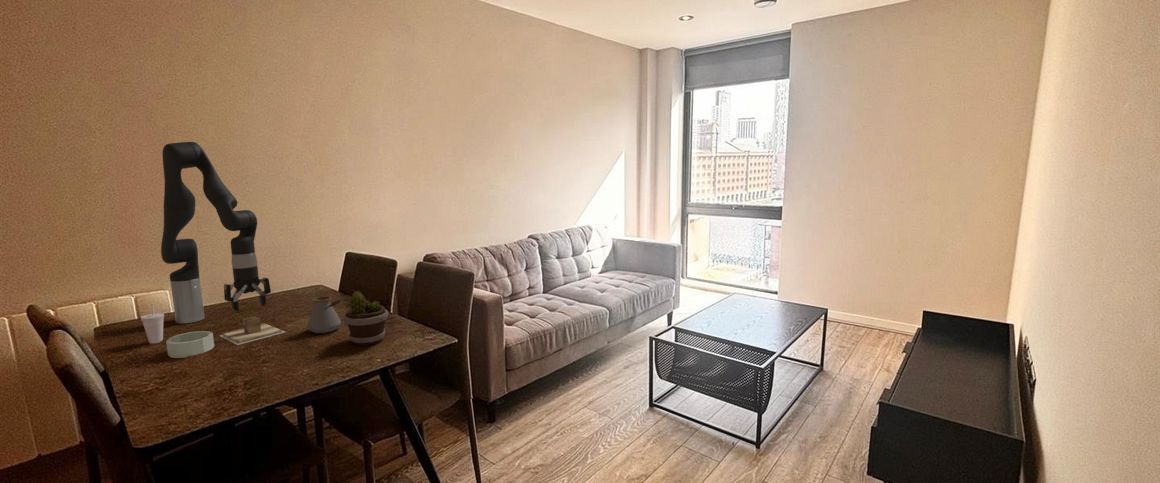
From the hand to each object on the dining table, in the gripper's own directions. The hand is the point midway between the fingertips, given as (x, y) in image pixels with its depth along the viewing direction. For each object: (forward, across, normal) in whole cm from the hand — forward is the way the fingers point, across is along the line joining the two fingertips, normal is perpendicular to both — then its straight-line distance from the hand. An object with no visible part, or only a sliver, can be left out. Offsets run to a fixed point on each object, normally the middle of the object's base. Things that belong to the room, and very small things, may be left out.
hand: (249, 308), depth 180 cm
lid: (+10, 0, 0) cm, 10 cm away
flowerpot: (+11, -22, +40) cm, 47 cm away
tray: (+10, 0, 0) cm, 10 cm away
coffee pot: (+11, -17, +22) cm, 30 cm away
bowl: (+10, +19, 0) cm, 21 cm away
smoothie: (+10, +23, -21) cm, 33 cm away
